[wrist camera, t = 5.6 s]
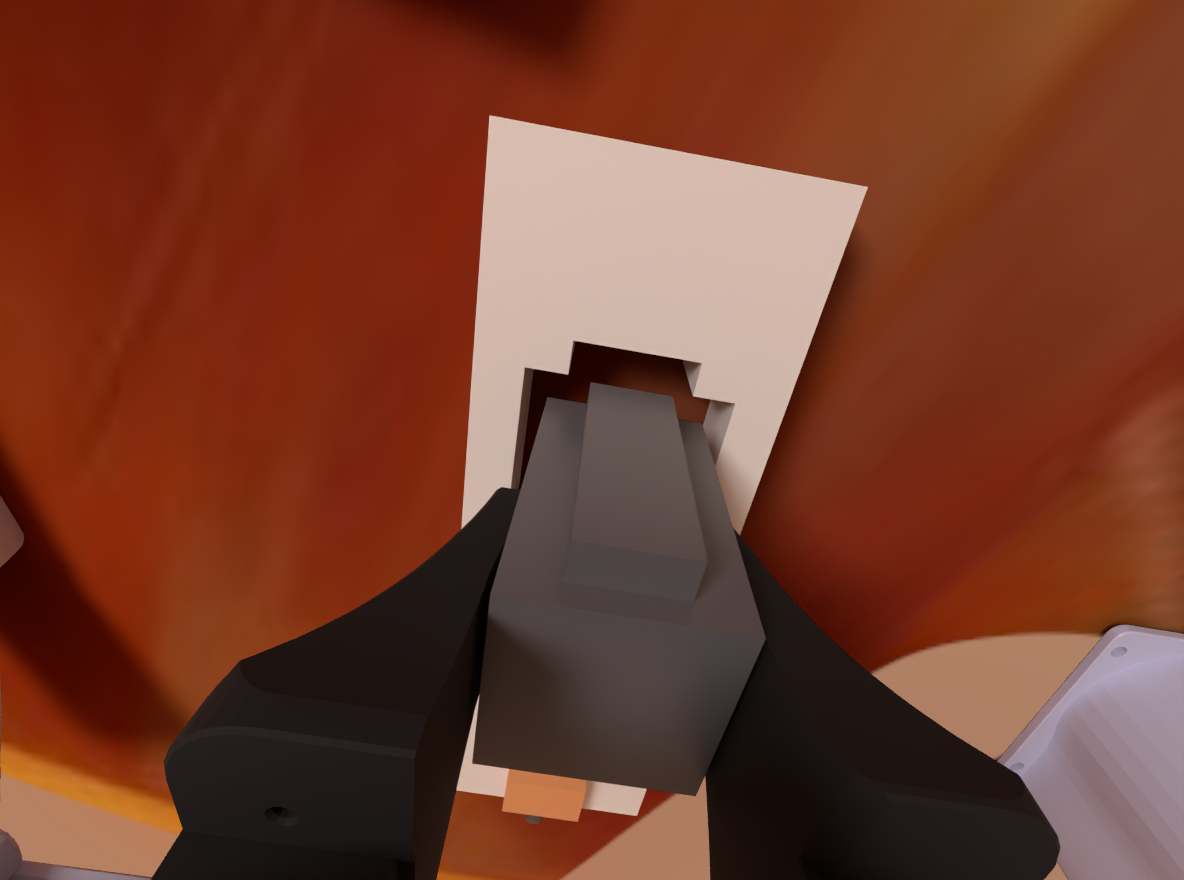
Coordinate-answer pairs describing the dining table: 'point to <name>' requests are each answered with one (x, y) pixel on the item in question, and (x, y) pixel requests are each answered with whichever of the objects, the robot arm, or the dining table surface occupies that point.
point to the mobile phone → (8, 547)
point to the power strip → (640, 320)
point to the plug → (616, 602)
